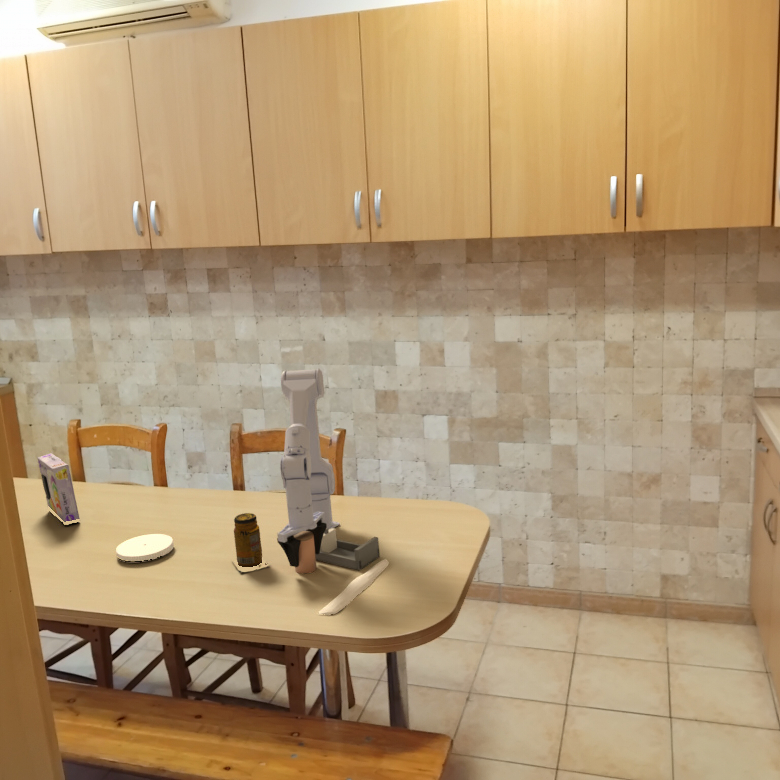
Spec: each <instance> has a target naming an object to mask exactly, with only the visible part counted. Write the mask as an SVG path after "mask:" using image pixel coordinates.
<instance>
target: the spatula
mask: <svg viewBox="0 0 780 780" xmlns="http://www.w3.org/2000/svg"><path fill="white" fill-rule="evenodd" d="M388 566H389V561H388V560H387V559H382V560H381V561H379V562H377V563H375V564H374V565H373V566H372V567H370V568H369V569H368V570H367V571H366V572H364V573H363V574H361V575H358V576H356V578H354V579H352V580H351V582H349V583H348V585H347V586H346V587H345V588H344V589H343V590H342V591H341V592H340V593H339V594H337V596H336V597H334V599H332V600H331V601H330V602H329V603H328V604H326V605H325V606H324V607H323V608H321V609H320V610H318V612H319V614H323V615H324V614H325V615H328V616H332V615H331V614H333V615H336V614H337V613H339V612H340V611H341V610H342V611H343V609H344V608H346V607H347V606H348V605H347V604H349V605H350V604H351V602H352V601H354V600H355V599H356V598H357V597H358V596H359V595H361V593H363V592H364V591H365V590H366V589H367V588H369V587H370V586H371V585H372V584H373V583H374V581H375V580H376V578H378V577H379V575H380V574H382V572H383V571H384V570H385V569H386V568H387V567H388ZM374 579H375V580H374ZM372 582H373V583H372ZM368 586H369V587H368ZM363 590H364V591H363ZM362 591H363V592H362ZM358 594H359V595H358ZM357 595H358V596H357ZM356 596H357V597H356ZM355 597H356V598H355ZM354 598H355V599H354ZM353 599H354V600H353ZM350 601H351V602H350ZM346 605H347V606H346ZM345 606H346V607H345ZM329 614H330V615H329Z"/></svg>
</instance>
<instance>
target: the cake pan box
mask: <svg viewBox="0 0 780 780" xmlns="http://www.w3.org/2000/svg"><path fill="white" fill-rule="evenodd" d="M37 461H38V462H37V463H38V467H39V472H40V475H41V481H42V485H43V489H44V493H45V501H46V505H47V507H48V506H49V507H50V508H51V509H52V510H53V511H54V512H55V513H56V514H57V515H58V516H59V517H60V518H61V519H62V520H63V521H64V522H66V521H72V520H76V519H80V514H79V509H78V503H77V500H76V499H77V498H76V495H75V489H74V483H73V481H72V476H71V470H70V465H69V464H68V463H66V462H64V461H63V460H62V459H61V458H60V457H59V456H56V455H55V454H53V452H51V453H47V454H44V455H42V456H37ZM80 520H81V519H80Z"/></svg>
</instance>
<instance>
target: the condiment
mask: <svg viewBox="0 0 780 780" xmlns="http://www.w3.org/2000/svg"><path fill="white" fill-rule="evenodd" d="M233 522H234V528H233V535H234V545H235V552H236V553H235V554H236V560H237V562H238V565H239V566H242V567H253V566H257V565H259V564H260V563H262V557H263V548H262V542H261V532H260V526H259V525H258V520H257V516H256V514H254V513H253V512H252V513H251V512H245V513H240V514H237V515H236V516H235V517H234V519H233ZM267 564H269V563H268V562H267ZM267 564H266V563H265V565H267Z"/></svg>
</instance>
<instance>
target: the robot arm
mask: <svg viewBox="0 0 780 780" xmlns="http://www.w3.org/2000/svg"><path fill="white" fill-rule="evenodd" d="M323 376H324V374H323V371H322V370H321V369H320V368H316V369H299V370H297V369H296V370H283V372H281V376H280V386H281V392H282V394H283V395H284V398H285V399H286V400H287V401H289V410H290V426H289V427H287V428H286V430H285V433H284V452H283V457H281V458H280V463H279V471H280V476H281V480H282V484H283V489H285V498H286V507H287V509H286V510H287V518H288V523H287V524H286V525H285V526H284V527H283V528H282V529H281V530H280V531H279V532H277V533H276V534H277V538H276V540H277V544H278V545H280V547H281V548H282V550H283V551H284V554H285V555H286V557H287V561H288V562H289V566H291V567H293V568H295V567H298V566H299V547H300V543H301V540H296V539H295V538H294V535H296V534H298V533H300V532H302V531H310V532H312V533H313V536H314V545H315V554H319V553H320V547H321V542H322V538H323V535H324V532H325V530H326V528H328V530H329V529H331V528H334V529H336V527H338V526H340V522H338V521H333V511H332V501H331V500H332V499H331V495H333V494H334V493H335V490H336V479H335V478H336V477H335V473H334V468H333V465H332V463H330V462H328V461H327V460H325V459H323V458H322V452H321V451H322V449H321V441H320V440H321V439H320V430H319V429H320V428H319V419H318V417H319V416H318V408H317V404H318V403H317V402H318V399H320V398H323V397H324V395H325V385H324V377H323Z"/></svg>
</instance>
